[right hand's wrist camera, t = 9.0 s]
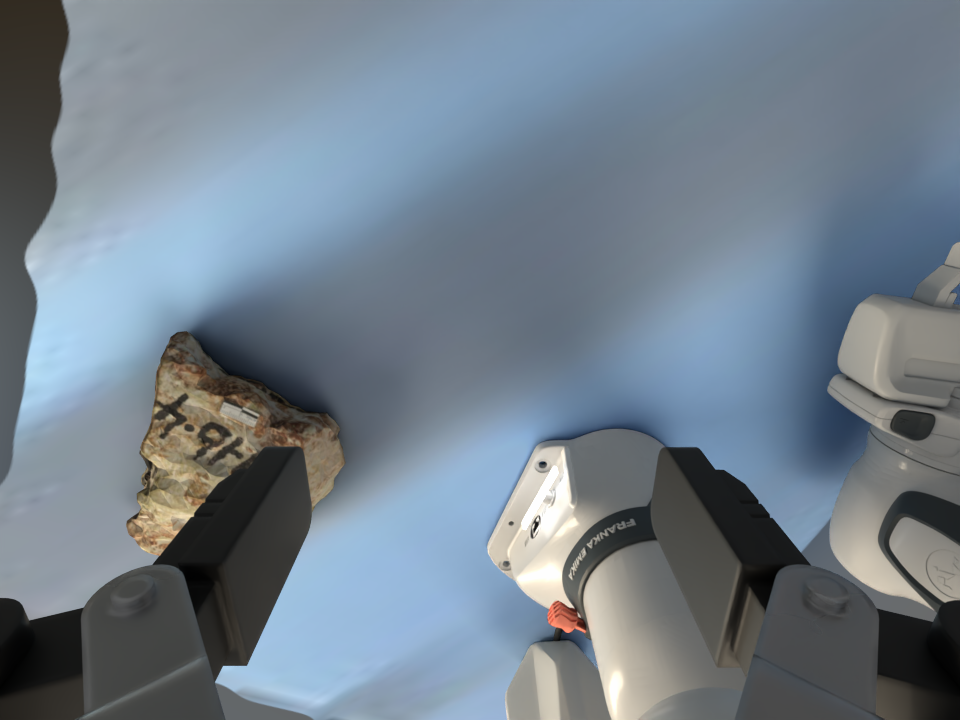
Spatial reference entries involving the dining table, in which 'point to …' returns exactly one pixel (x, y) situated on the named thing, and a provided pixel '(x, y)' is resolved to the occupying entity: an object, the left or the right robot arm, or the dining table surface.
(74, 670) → the right robot arm
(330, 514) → the dining table surface
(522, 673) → the vase
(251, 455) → the stone
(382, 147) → the dining table surface
